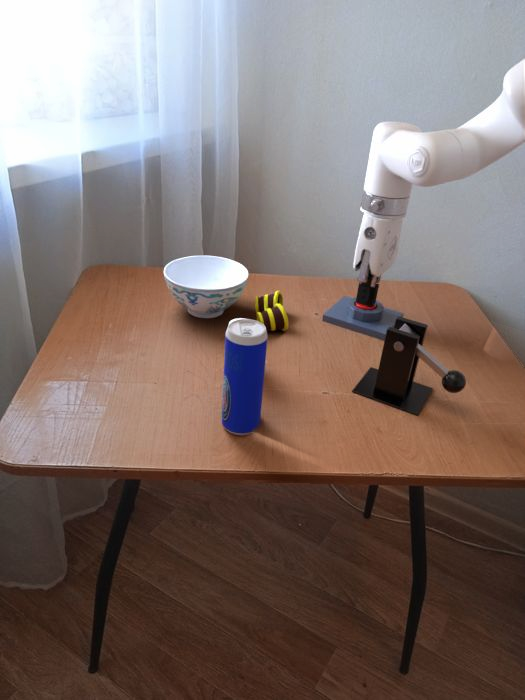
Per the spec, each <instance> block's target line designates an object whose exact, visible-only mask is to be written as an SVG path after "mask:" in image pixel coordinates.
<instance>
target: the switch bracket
mask: <svg viewBox="0 0 525 700" xmlns="http://www.w3.org/2000/svg"><path fill="white" fill-rule="evenodd" d="M404 324H406V325H408V326H409V327H410V328H411V329H412V330H413V331H414V332H415V333H417V334H418V335H419V336H418V335H415V334H411V333H408V332H405V331H402V330H399V329H400V328H401V327H402V326H403V325H404ZM427 331H428V324H426V323H423V322H420V321H416V320H413V319H410V318H407V317H404V316H403V317H399V316H398V317H397V318H396V321H395V326H394V328H392V327H389V328H388V329H387V332H386V336H385V341H384V340H383V341H384V342H383V346H382V351H381V355H380V361H379V365H378V368H375V367H373V366H370V367H369V368H368V370H367V371H366V372H365V374H364V375H363V376H362V377H361V379H360V380H359V381H358V382H357V384H356V385H355V386H354V388H353V389H352V390H351V393H352V394H356V395H358V396H361V397H364V398H366V399H369V400H371V401H375V402H377V403H379V404H383V405H386V406H388V407H391V408H395V409H396V410H399V411H402V412H405V413H407V414H410V415H413V416H416V417H418V416H419V415H420V413H421V411H422V409H423V408H424V406H425V404H426V403H427V401H428V398H429V397H430V395H431V393H432V391H433V389H434V388H433V387H431V386H428V385H425V384H422V383H419V382H416V381H415V377H416V372H417V369H418V365H419V361H420V358H419V357H418V356H417V355H416V350H417V346H418V344H420V345H421V346H422V347H423V346H424V342H425V337H426V333H427Z"/></svg>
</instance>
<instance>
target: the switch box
mask: <svg viewBox="0 0 525 700" xmlns="http://www.w3.org/2000/svg"><path fill="white" fill-rule="evenodd" d="M375 304H376V307H375V310H363V309H360V308H357V307H356V306H355V305H356V297H351V296H347V295H343V296H342V297H340V299H338V301H336V302H335V303H334V304H333V305H332V306H331V307H330V308H329V309H327V310H326V311H325V312H324V313H323V314H322V322H324V323H327V324H330V325H334V326H337V327H340V328H343V329H346V330H349V331H353V332H355V333H359V334H361V335H366V336H368V337H371V338H375V339H378V340H381V341H385V336H386V332H387V329H388V328H389V327H392V328H394V326H395V321H396V318H397V317H398V316H399V317H403V318H404V314H405V313H404V312H401V311H398V310H394V309H391V308H388V307H385V306H384V305H383V303H382V302H380V301H379V300H377V299H376V303H375Z"/></svg>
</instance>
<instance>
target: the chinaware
mask: <svg viewBox="0 0 525 700" xmlns="http://www.w3.org/2000/svg"><path fill="white" fill-rule="evenodd" d="M163 275H164V281H165V284H166V286H167V289H168V291H169V293H170V294H171V296H172V298H174V300H175V301H176V302H177V303H178V304H180V305H181V306H182V307H183V308H185V309H186V311H187V312H188V314H190V315H191V316H193V317H196V318H200V319H213V318H217V317H219V316H221V315H223V313H224V311H225V310H227V309H229V308H230V307H232V306H233V305H234V304H235V303H236V302H237V301H238V300H239V299H240V297H241V296H242V294H243V292H244V290H245V288H246V286H247V283H248V279H249V270H248V269H247V268H246V267H245V266H244V265H243V264H242V263H240V262H238V261H236V260H234V259H233V260H232V259H230V258H227V257H223V256H216V255H215V256H214V255H191V256H185V257H181V258H177V259H174V260H172V261H170V262H168V263H167V264H166V265H165V266H164V269H163Z"/></svg>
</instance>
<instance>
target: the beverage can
mask: <svg viewBox="0 0 525 700" xmlns="http://www.w3.org/2000/svg"><path fill="white" fill-rule="evenodd" d="M224 336H225V338H224V339H225V340H224V355H223V357H224V359H223V362H224V363H223V384H222V400H221V401H222V403H221V425H222V426H223V427H224V429H225V430H226V431H227V432H228V433H230V434H232V435H236V436H247V435H250V434H252V433H254V432H255V430H256V429H257V428H258V427H259V426H260V423H261V414H262V405H263V404H262V403H263V392H264V381H265V371H266V359H267V350H268V349H267V348H268V338H269V337H268V336H269V335H268V331H267V330H266V327H265V326H264V325H263V324H262V323H260V322H258V321H257V320H255V319H250V318H244V319H239V320H235V321H233V322H231V323H230V324H229V323H228V326H227V328H226V331H225V335H224Z"/></svg>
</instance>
